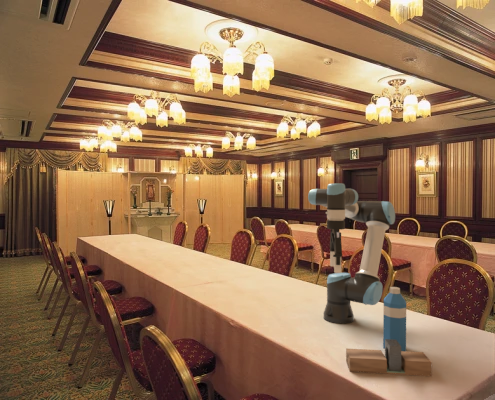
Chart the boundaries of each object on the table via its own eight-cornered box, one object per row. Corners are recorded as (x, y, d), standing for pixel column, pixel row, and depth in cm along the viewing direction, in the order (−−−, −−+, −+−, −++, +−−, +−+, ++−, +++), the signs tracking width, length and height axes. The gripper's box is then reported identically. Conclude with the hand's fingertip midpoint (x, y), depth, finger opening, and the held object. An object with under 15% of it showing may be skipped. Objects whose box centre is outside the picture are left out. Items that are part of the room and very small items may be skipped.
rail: (346, 361, 138) (346, 348, 138) (422, 365, 135) (423, 352, 135) (349, 371, 130) (349, 357, 130) (431, 376, 127) (431, 362, 127)
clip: (384, 362, 136) (385, 338, 135) (395, 363, 135) (396, 339, 135) (389, 371, 129) (389, 346, 129) (401, 371, 129) (401, 346, 129)
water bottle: (400, 343, 155) (400, 285, 155) (410, 352, 146) (411, 291, 146) (378, 343, 155) (379, 285, 155) (388, 352, 146) (388, 291, 145)
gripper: (323, 217, 167) (323, 263, 167) (330, 221, 142) (330, 275, 143) (340, 218, 166) (340, 264, 167) (349, 221, 142) (349, 276, 142)
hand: (335, 269), depth 155 cm, fingers open, 13 cm apart
